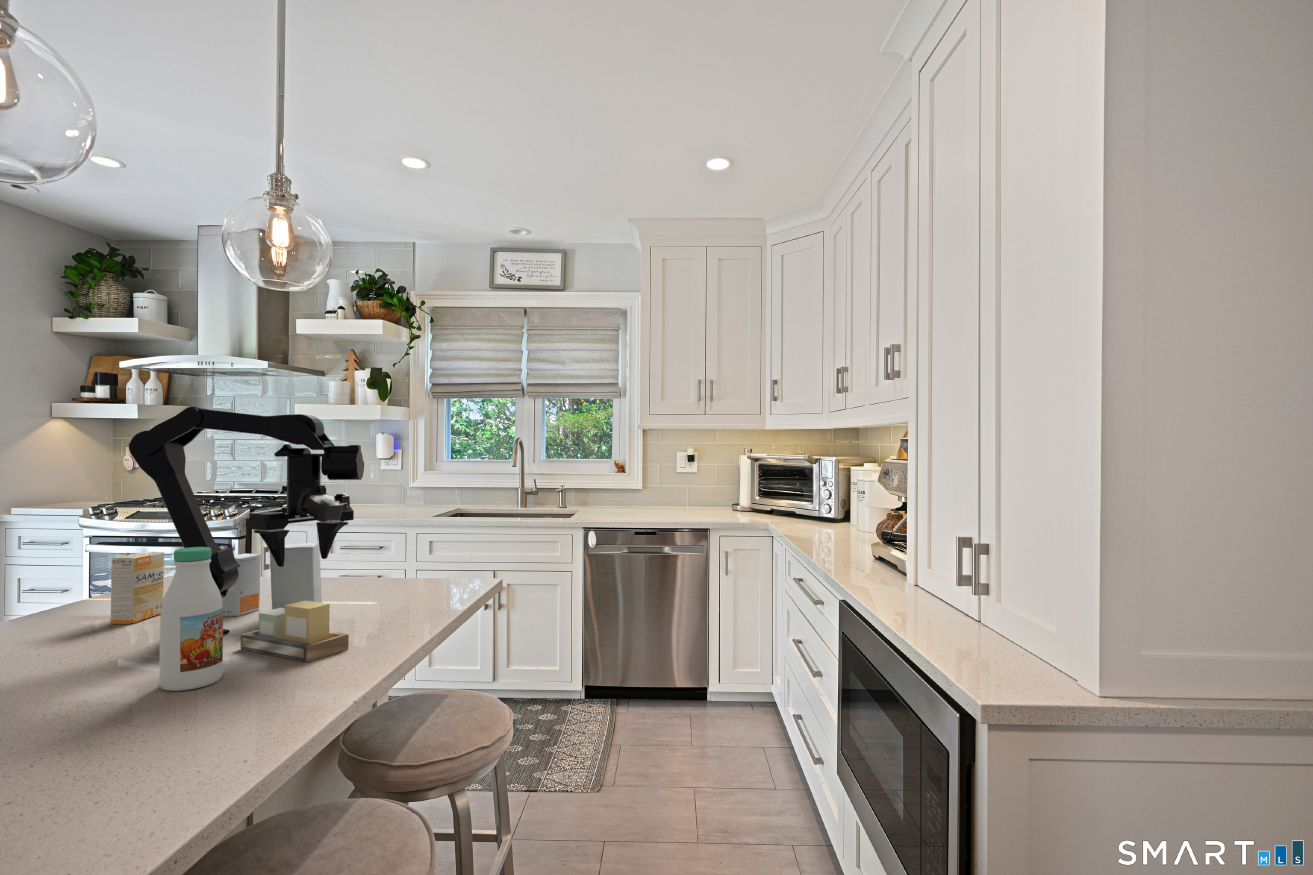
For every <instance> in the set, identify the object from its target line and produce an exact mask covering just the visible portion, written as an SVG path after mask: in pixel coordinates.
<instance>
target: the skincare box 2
mask: <svg viewBox="0 0 1313 875" xmlns="http://www.w3.org/2000/svg"><path fill="white" fill-rule="evenodd" d="M269 564H270V590H271V592H270V593H271V595H270V596H271V610H273V609H277V608H284V609H285V605H288V604H292V603H297V602H301V601H305V600H306V601H313V602H320V603H323V601H322V600H323V599H322V596H323V595H322V577H321V574H322V573H321V570H322V569H321V554H320V548H319V541H315V542H313V541H312V542H299V543H285V560H284V566H283V567H279V566H278V565H277V563H276V561H275V559H274V558H273V556H272V554H271V552H270V551H269Z"/></svg>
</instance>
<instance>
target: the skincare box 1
mask: <svg viewBox="0 0 1313 875" xmlns="http://www.w3.org/2000/svg"><path fill="white" fill-rule="evenodd" d="M234 557H235V560H236V561H237V563H238V564H239V565H240V567H238V568H237V569H238V572H239V577H238V579H237V581H236V583H235V584H234V585H233V586H232V587H230V588H229V590H228V592H227V595H226V596H225V597H222V607H223V616H224V617H225V616H226V617H228V616H229V617H230V616H231V617H239V616H242V615H245V614H249V613H253V612H257V611H259V610H260V607H261V606H260V599H261V598H260V597H261V596H260V595H261V594H260V593H261V561H262V560H261V554H260V553H259V554H258V553H240V554H234ZM256 610H257V611H256Z"/></svg>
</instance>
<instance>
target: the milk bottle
mask: <svg viewBox="0 0 1313 875" xmlns="http://www.w3.org/2000/svg"><path fill="white" fill-rule="evenodd" d="M173 561H174V563H173V565H174V566H175V570H174V571H175V572H174V575H173V578H172V580H171V583H170V585H169V586H168V588H167V590H166V591H165V593H164V595H163V602H162V607H161V614H160V621H159V622H160V623H159V686H160V688H161V689H162V690H163V691H170V692H179V691H180V692H181V691H189V690H195V689H199V688H200V689H201V688H203V687H206V686H210V685H212V684H215V683H218V681H219V680H220V679H222V676H223V668H224V667H223V662H224V660H223V656H224V655H223V653H224V650H223V649H224V639H223V638H224V634H223V629H224V615H223V607H222V598H221V594H220V591H219V589H218V587H217V585H216V583H215V581H214V580H213V577H212V575H211V572H210V568H209V563H210V562H211V548H209V547H190V548H184V547H182V548H178V549H175V550H174V552H173Z"/></svg>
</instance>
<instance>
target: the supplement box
mask: <svg viewBox="0 0 1313 875" xmlns="http://www.w3.org/2000/svg"><path fill="white" fill-rule="evenodd" d="M164 570H165V552H164V551H143V552H139V553H133V554H132V553H131V554H128V555H123V556H116V557H112V558H111V576H110V579H111V580H110V582H111V583H110V585H111V586H110V624H113V625H114V624H115V625H120V624H121V625H125V624H126V625H132V624H131V623H133V624H136V623H138V621H139V622H142V621H144V620H143V619H145V620H148V619H150V618H153V617H156V616H159V614H160V615H161V607H162V602H163V599H164V583H165V582H164V573H165V571H164ZM152 616H153V617H152ZM149 617H150V618H149ZM147 618H148V619H147ZM141 620H142V621H141ZM135 622H136V623H135Z"/></svg>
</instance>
